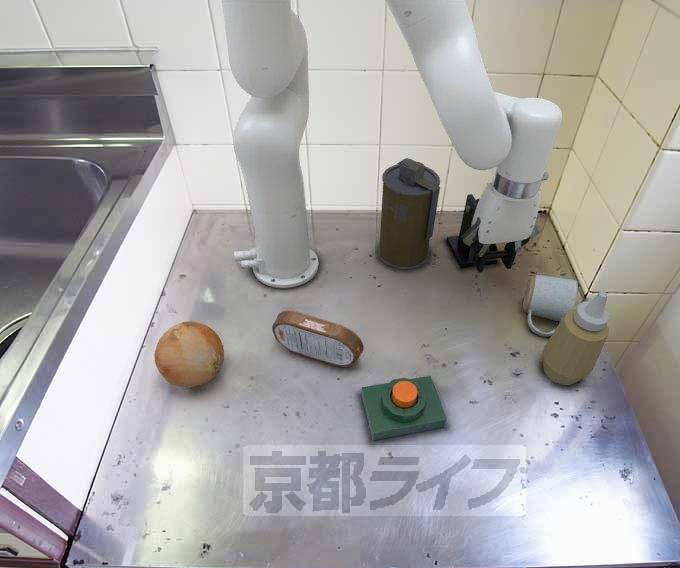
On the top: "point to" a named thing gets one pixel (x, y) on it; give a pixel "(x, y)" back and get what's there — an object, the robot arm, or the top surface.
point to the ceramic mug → (549, 299)
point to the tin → (317, 338)
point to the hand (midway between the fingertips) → (491, 265)
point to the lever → (495, 250)
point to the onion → (189, 354)
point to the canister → (407, 213)
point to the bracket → (457, 245)
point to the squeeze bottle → (577, 342)
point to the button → (404, 394)
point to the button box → (402, 409)
